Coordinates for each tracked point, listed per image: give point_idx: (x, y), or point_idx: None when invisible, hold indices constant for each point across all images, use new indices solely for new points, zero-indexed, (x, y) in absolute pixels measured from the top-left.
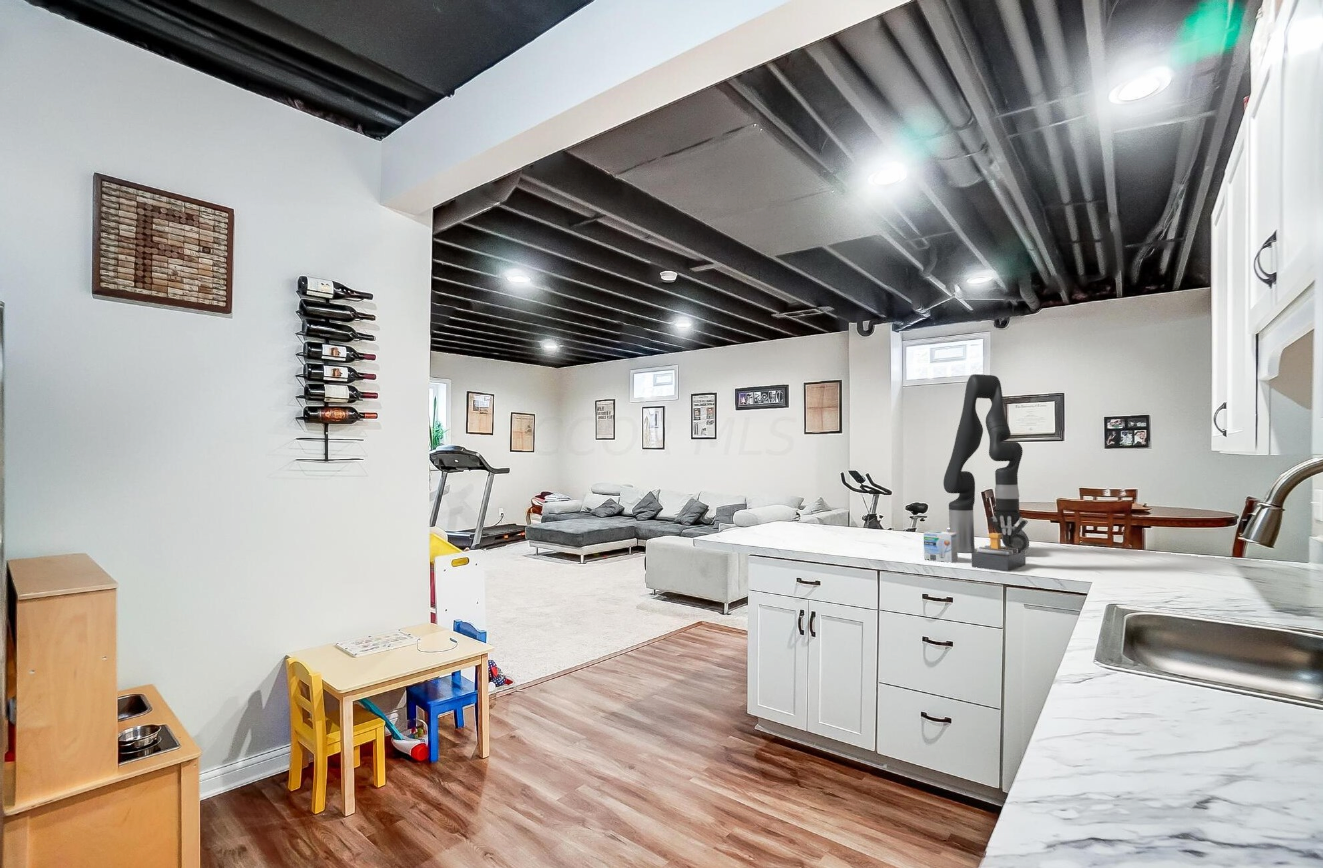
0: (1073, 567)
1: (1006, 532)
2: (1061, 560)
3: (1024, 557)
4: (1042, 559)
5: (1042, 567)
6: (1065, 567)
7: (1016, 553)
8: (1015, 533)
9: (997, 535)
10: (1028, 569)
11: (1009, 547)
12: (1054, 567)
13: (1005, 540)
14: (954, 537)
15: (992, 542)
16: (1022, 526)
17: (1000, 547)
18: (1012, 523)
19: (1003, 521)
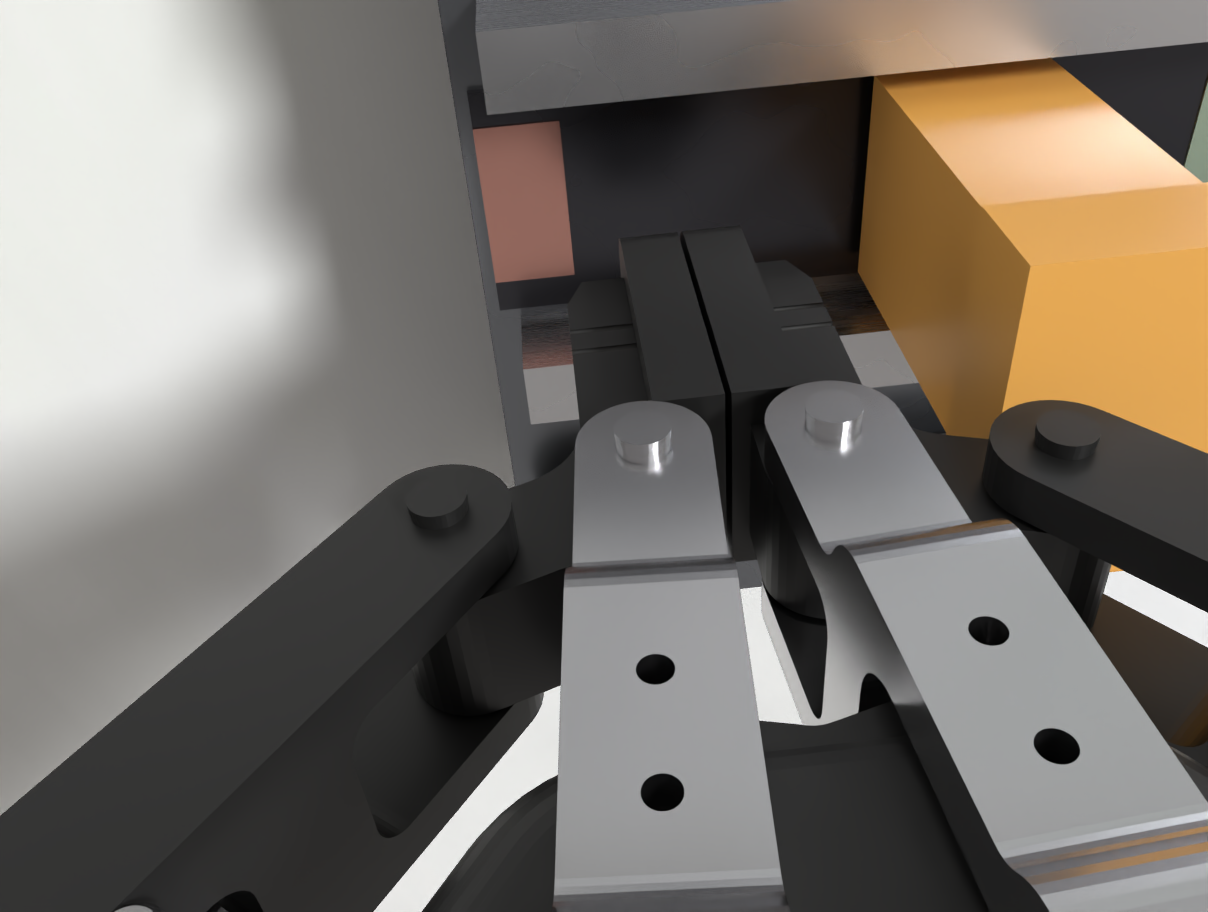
0: (53, 692)
1: (773, 486)
2: (410, 903)
3: None
4: None
5: (266, 444)
6: (101, 636)
7: (490, 246)
8: (413, 480)
9: (1029, 247)
10: (279, 121)
11: None
12: (174, 550)
13: (746, 288)
14: None
15: (1099, 158)
16: (64, 790)
17: (881, 286)
18: (528, 829)
19: (1020, 799)
